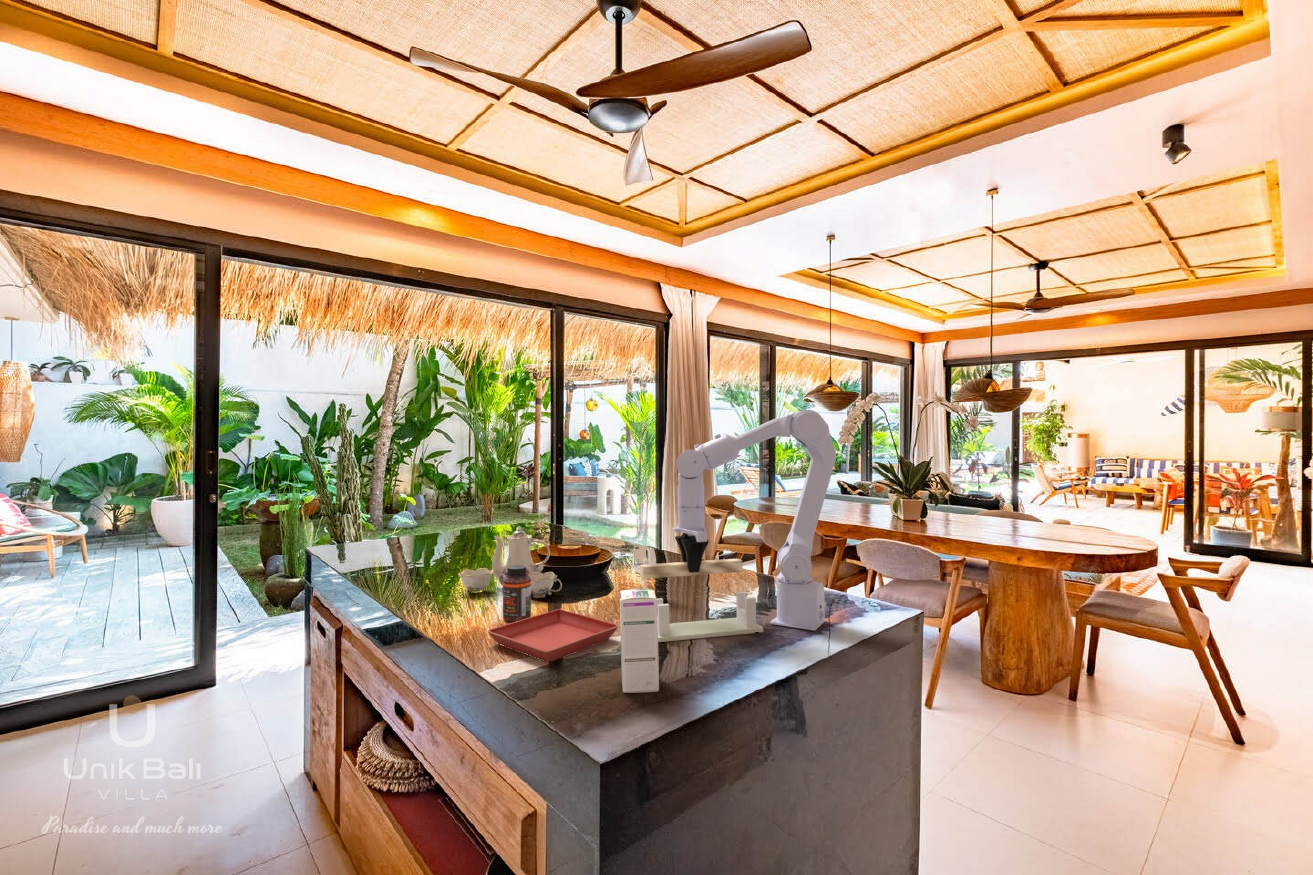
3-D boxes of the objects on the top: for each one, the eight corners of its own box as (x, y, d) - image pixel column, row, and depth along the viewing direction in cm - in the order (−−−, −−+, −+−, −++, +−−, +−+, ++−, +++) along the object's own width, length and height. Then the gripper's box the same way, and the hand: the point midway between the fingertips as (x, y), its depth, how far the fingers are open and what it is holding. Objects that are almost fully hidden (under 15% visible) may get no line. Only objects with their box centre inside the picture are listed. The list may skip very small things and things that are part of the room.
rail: (738, 569, 134) (738, 558, 134) (742, 571, 132) (742, 560, 132) (640, 576, 128) (640, 564, 128) (643, 578, 126) (642, 567, 126)
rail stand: (747, 620, 129) (747, 589, 129) (763, 631, 121) (763, 599, 121) (646, 629, 124) (645, 597, 124) (655, 642, 116) (655, 608, 116)
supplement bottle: (497, 621, 131) (496, 568, 130) (513, 613, 136) (513, 562, 136) (520, 624, 128) (520, 570, 128) (536, 616, 134) (536, 564, 134)
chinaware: (448, 603, 151) (443, 537, 150) (478, 580, 168) (475, 521, 166) (556, 607, 147) (553, 540, 145) (577, 584, 163) (574, 522, 161)
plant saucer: (546, 669, 104) (546, 650, 104) (485, 646, 116) (485, 629, 116) (620, 642, 118) (620, 624, 118) (559, 624, 129) (559, 608, 129)
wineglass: (653, 600, 145) (653, 550, 145) (630, 599, 146) (629, 549, 146) (658, 594, 151) (658, 546, 151) (635, 593, 152) (635, 545, 152)
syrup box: (659, 692, 93) (658, 597, 93) (621, 693, 93) (620, 598, 93) (656, 677, 99) (655, 587, 99) (620, 678, 99) (619, 588, 99)
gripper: (663, 503, 136) (664, 564, 136) (683, 511, 122) (683, 579, 122) (694, 502, 138) (694, 562, 138) (716, 509, 124) (717, 577, 124)
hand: (691, 570), depth 130 cm, fingers closed on rail, 2 cm apart
